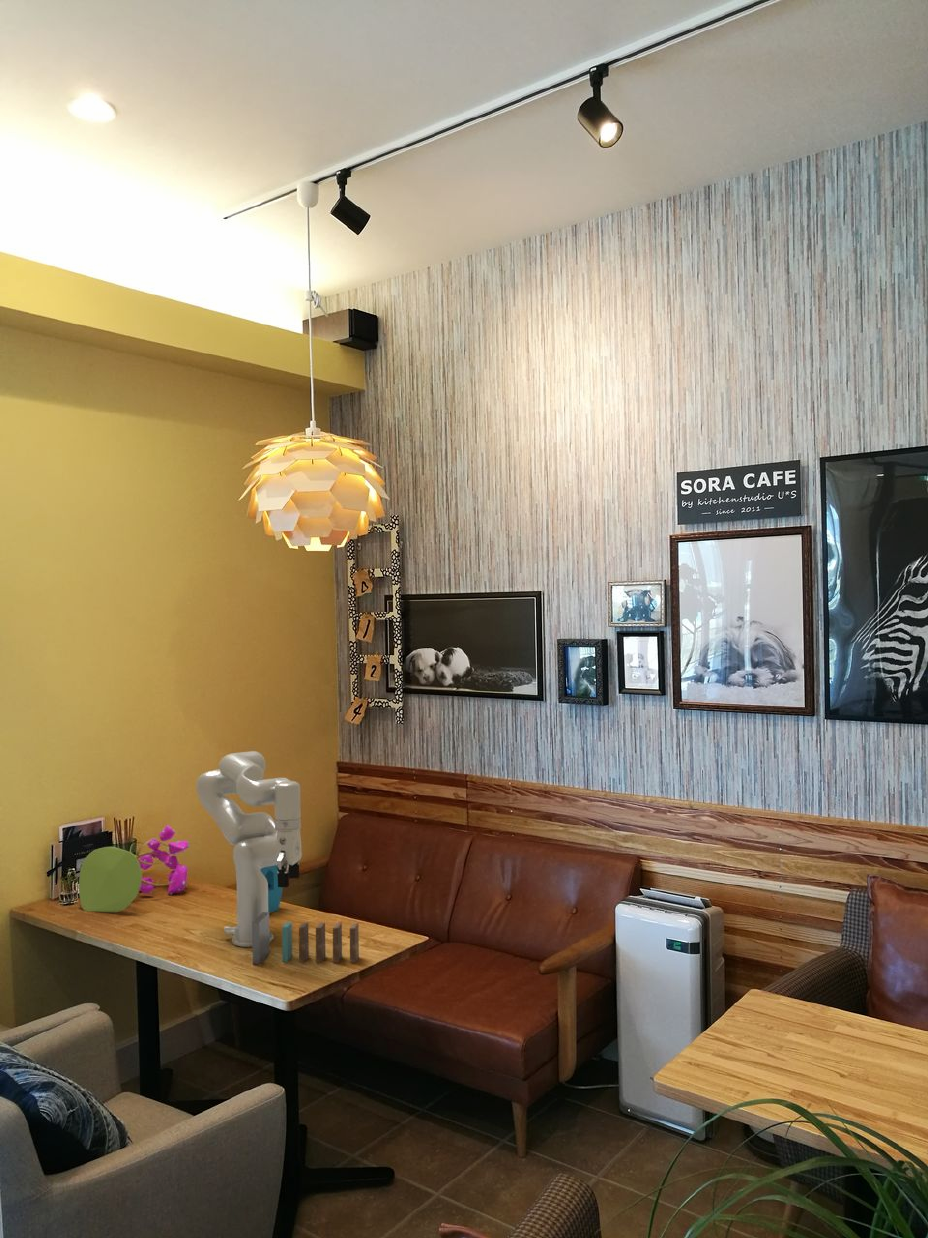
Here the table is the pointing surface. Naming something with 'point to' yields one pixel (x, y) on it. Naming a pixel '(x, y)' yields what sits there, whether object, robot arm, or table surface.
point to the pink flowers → (127, 874)
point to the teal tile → (286, 941)
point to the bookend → (260, 937)
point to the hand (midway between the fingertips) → (288, 882)
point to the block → (272, 887)
